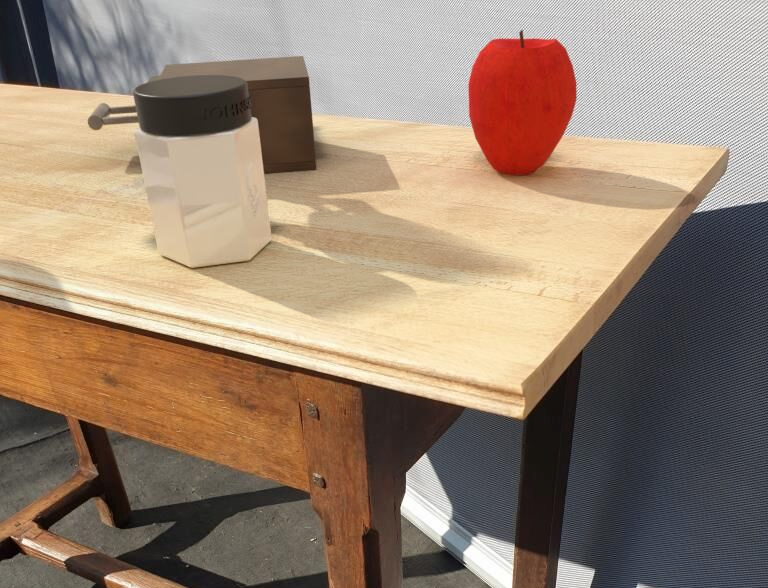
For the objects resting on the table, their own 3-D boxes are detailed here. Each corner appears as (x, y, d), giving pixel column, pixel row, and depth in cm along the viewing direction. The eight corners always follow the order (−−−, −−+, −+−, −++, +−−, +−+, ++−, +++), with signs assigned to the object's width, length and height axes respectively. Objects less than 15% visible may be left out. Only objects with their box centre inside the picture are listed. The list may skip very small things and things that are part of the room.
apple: (573, 157, 84) (585, 21, 77) (566, 186, 76) (578, 37, 69) (475, 155, 86) (478, 22, 79) (458, 183, 78) (459, 38, 71)
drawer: (93, 175, 82) (76, 101, 78) (110, 146, 91) (95, 79, 88) (287, 160, 84) (280, 87, 80) (285, 134, 93) (278, 67, 89)
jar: (241, 272, 62) (216, 98, 55) (143, 265, 64) (107, 97, 57) (284, 232, 69) (267, 73, 62) (195, 227, 71) (168, 72, 64)
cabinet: (170, 180, 83) (153, 86, 78) (180, 149, 93) (165, 64, 88) (316, 169, 84) (308, 76, 79) (310, 139, 94) (303, 55, 89)
